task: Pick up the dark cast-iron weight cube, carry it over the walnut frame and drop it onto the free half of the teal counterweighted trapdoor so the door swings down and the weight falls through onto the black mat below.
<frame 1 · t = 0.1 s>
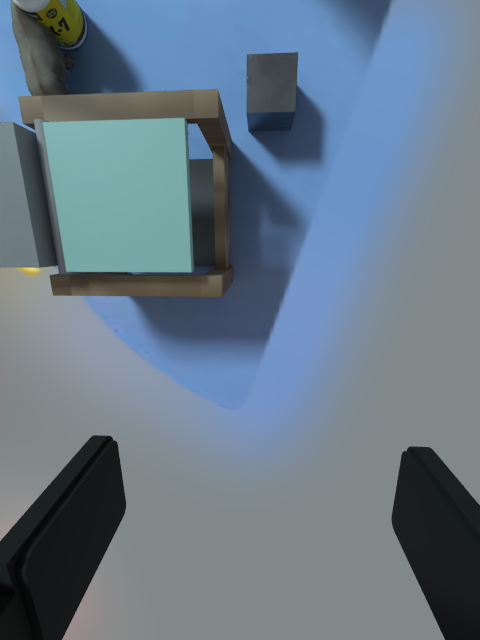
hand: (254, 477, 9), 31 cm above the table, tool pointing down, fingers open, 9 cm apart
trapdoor: (82, 202, 25), point 13 cm above the table, hinge at 0.0°
rhino figurine: (61, 64, 34), on the table, touching supplement bottle
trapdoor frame: (167, 215, 37), on the table
supplement bottle: (69, 27, 33), on the table, touching rhino figurine
iron weight: (269, 106, 33), on the table
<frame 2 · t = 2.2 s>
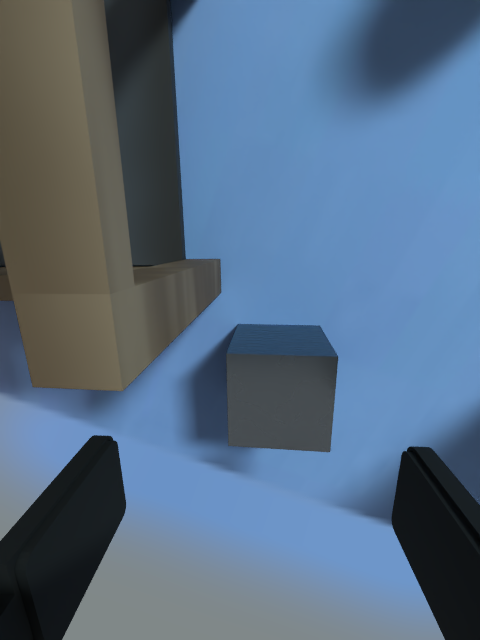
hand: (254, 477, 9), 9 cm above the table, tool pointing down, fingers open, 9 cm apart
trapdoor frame: (67, 141, 16), on the table
iron weight: (277, 361, 18), on the table
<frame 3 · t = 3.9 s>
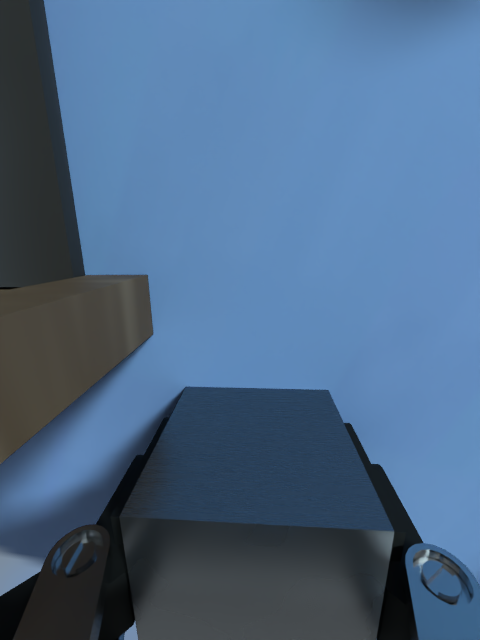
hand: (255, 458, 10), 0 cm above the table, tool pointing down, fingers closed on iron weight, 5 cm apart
iron weight: (255, 448, 11), on the table, touching gripper
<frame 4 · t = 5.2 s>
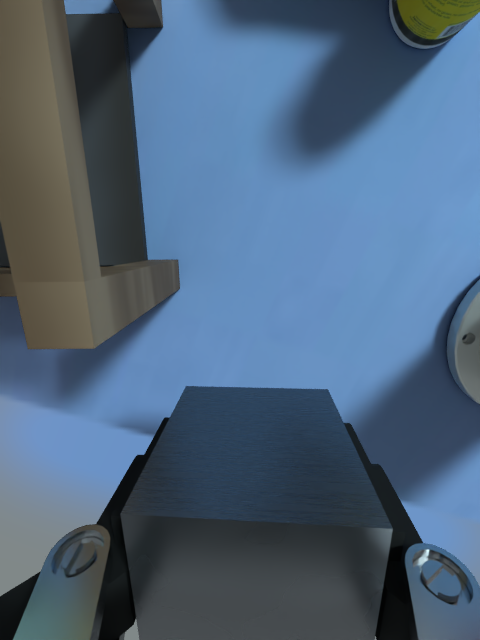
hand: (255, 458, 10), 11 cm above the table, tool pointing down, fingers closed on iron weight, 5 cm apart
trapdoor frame: (37, 156, 18), on the table
supplement bottle: (426, 4, 16), on the table, touching rhino figurine
iron weight: (255, 447, 11), point 11 cm above the table, touching gripper
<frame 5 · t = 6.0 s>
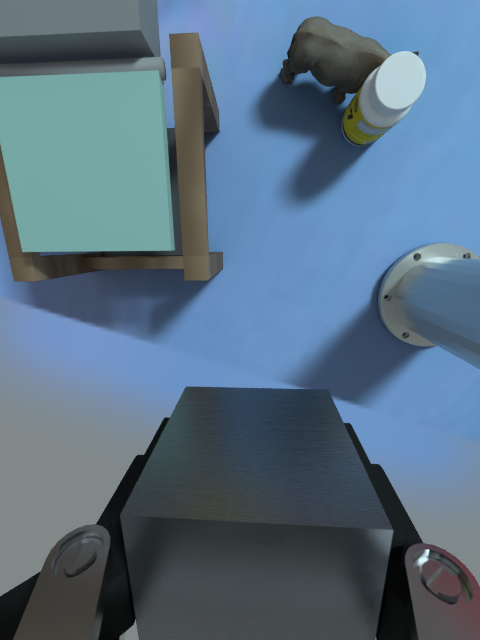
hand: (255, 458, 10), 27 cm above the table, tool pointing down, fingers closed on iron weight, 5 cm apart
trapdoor: (80, 114, 20), point 13 cm above the table, hinge at 0.0°
rhino figurine: (344, 86, 30), on the table, touching supplement bottle
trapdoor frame: (149, 196, 34), on the table
supplement bottle: (361, 124, 31), on the table, touching rhino figurine
iron weight: (255, 448, 11), point 27 cm above the table, touching gripper
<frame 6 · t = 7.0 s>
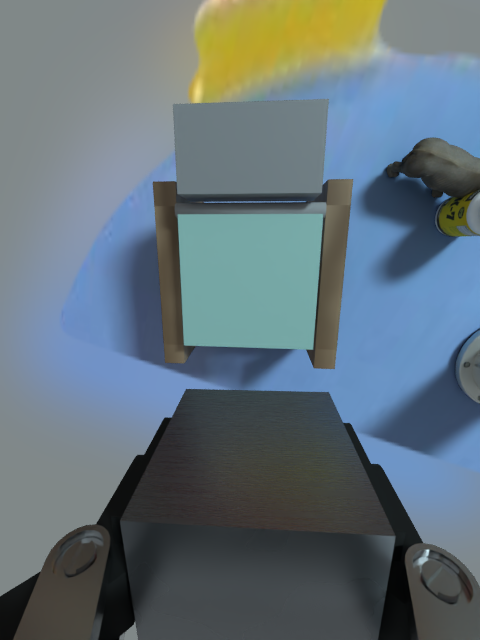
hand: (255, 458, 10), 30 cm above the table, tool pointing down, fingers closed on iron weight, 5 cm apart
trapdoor: (248, 241, 24), point 13 cm above the table, hinge at 0.0°
rhino figurine: (441, 183, 34), on the table, touching supplement bottle
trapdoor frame: (253, 269, 38), on the table
supplement bottle: (453, 216, 35), on the table, touching rhino figurine
iron weight: (256, 450, 11), point 29 cm above the table, touching gripper
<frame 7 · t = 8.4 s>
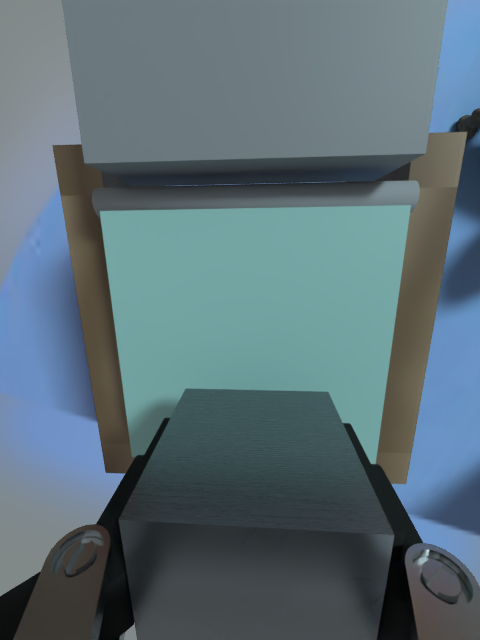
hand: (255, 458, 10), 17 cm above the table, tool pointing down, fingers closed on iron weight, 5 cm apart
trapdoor: (250, 264, 12), point 13 cm above the table, hinge at 0.0°
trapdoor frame: (253, 293, 25), on the table
iron weight: (255, 450, 11), point 16 cm above the table, touching gripper
when the fingers open (17 cm above the table, at t = 9.0 s): iron weight drops 13 cm and tips over, resting on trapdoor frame.
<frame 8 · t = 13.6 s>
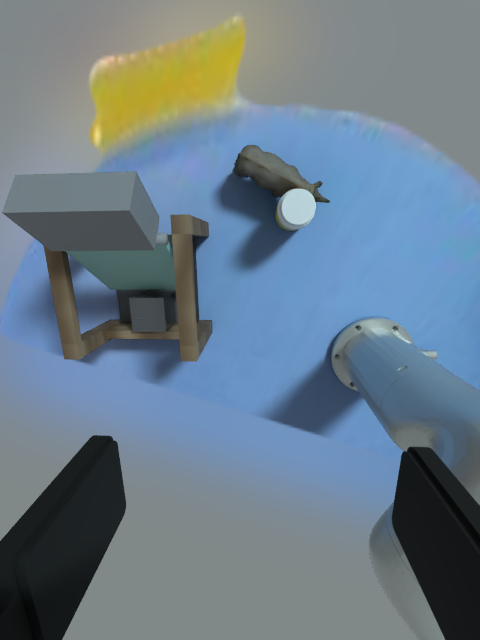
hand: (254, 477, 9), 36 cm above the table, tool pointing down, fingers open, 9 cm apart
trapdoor: (121, 252, 33), point 11 cm above the table, hinge at -56.9°
rhino figurine: (280, 184, 40), on the table, touching supplement bottle
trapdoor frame: (157, 280, 45), on the table
supplement bottle: (290, 214, 41), on the table, touching rhino figurine
iron weight: (152, 294, 42), point 3 cm above the table, tilted 90°, touching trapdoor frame
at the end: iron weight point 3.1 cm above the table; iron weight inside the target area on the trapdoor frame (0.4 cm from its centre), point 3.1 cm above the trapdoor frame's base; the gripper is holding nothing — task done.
